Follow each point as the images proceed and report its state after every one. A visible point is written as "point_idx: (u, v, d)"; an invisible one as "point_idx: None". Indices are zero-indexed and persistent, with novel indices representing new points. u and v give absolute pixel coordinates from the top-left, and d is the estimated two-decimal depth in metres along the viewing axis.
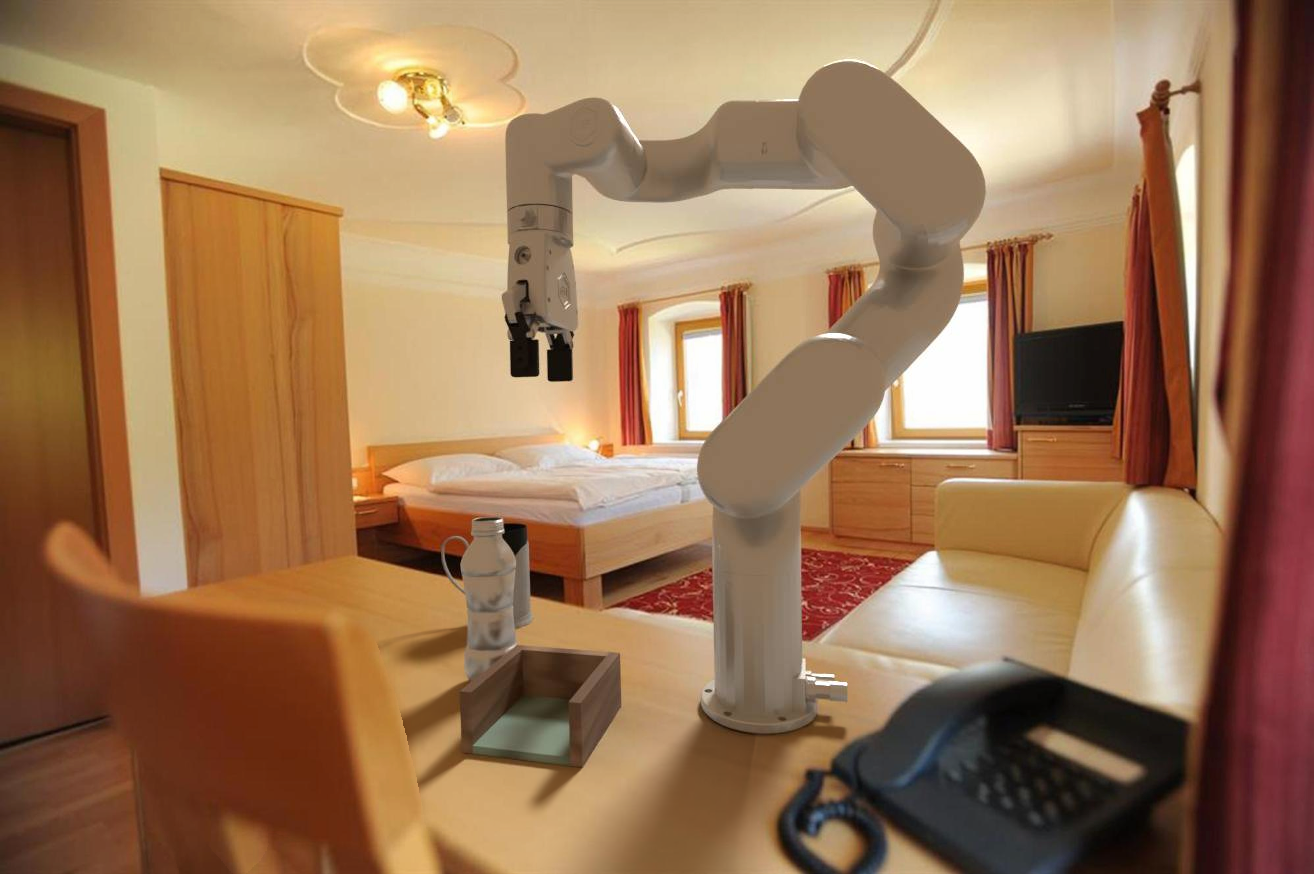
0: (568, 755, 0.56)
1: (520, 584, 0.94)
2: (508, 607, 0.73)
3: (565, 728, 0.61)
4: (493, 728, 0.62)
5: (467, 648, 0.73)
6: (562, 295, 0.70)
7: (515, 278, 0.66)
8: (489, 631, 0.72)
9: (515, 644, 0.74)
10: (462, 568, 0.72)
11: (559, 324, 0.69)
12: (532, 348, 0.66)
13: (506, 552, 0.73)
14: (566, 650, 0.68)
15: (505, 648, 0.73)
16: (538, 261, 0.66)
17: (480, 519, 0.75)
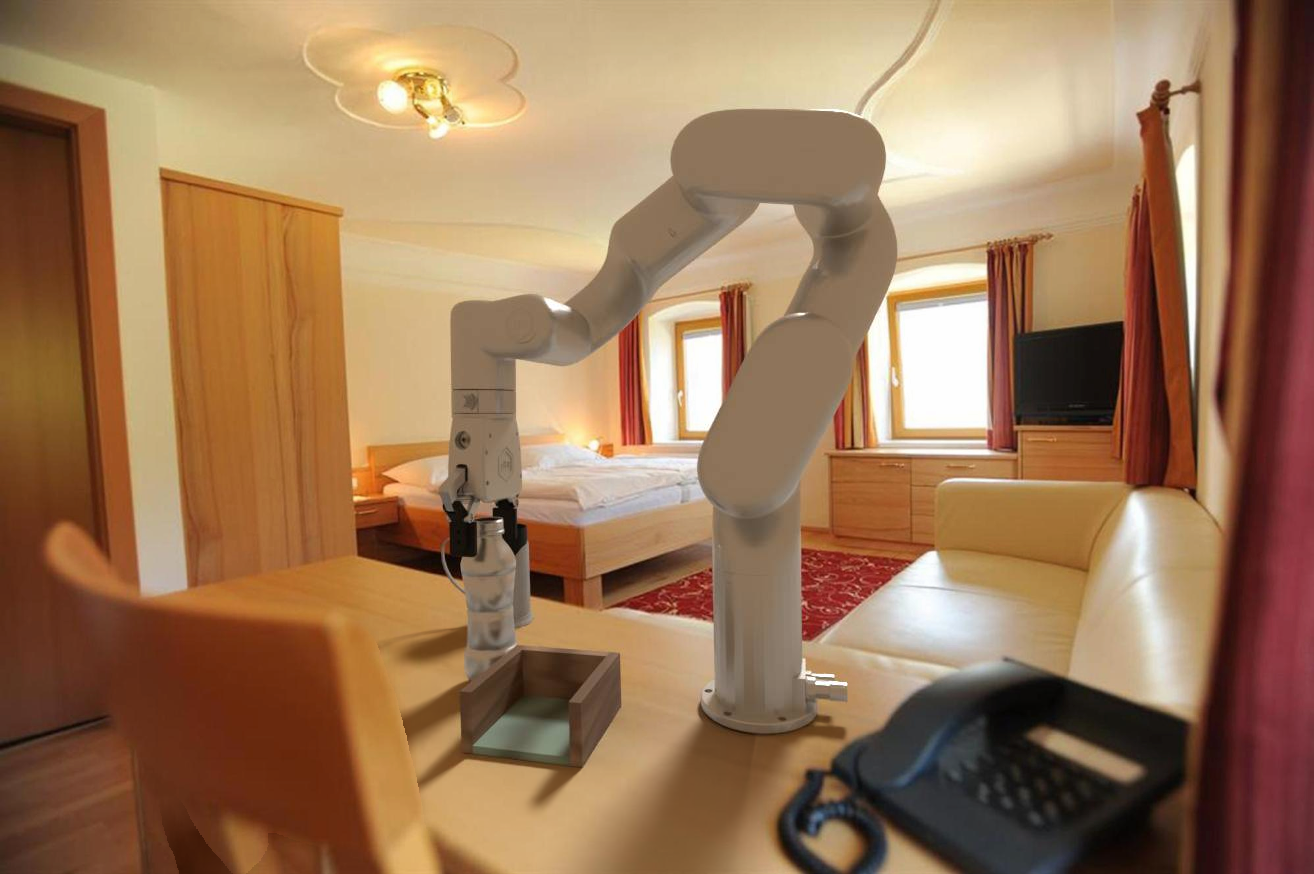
0: (568, 755, 0.56)
1: (520, 584, 0.94)
2: (508, 607, 0.73)
3: (565, 728, 0.61)
4: (493, 728, 0.62)
5: (467, 648, 0.73)
6: (503, 469, 0.73)
7: (455, 462, 0.69)
8: (489, 631, 0.72)
9: (515, 644, 0.74)
10: (462, 568, 0.72)
11: (499, 499, 0.72)
12: (470, 530, 0.69)
13: (506, 552, 0.73)
14: (566, 650, 0.68)
15: (505, 648, 0.73)
16: (477, 447, 0.68)
17: (480, 519, 0.75)
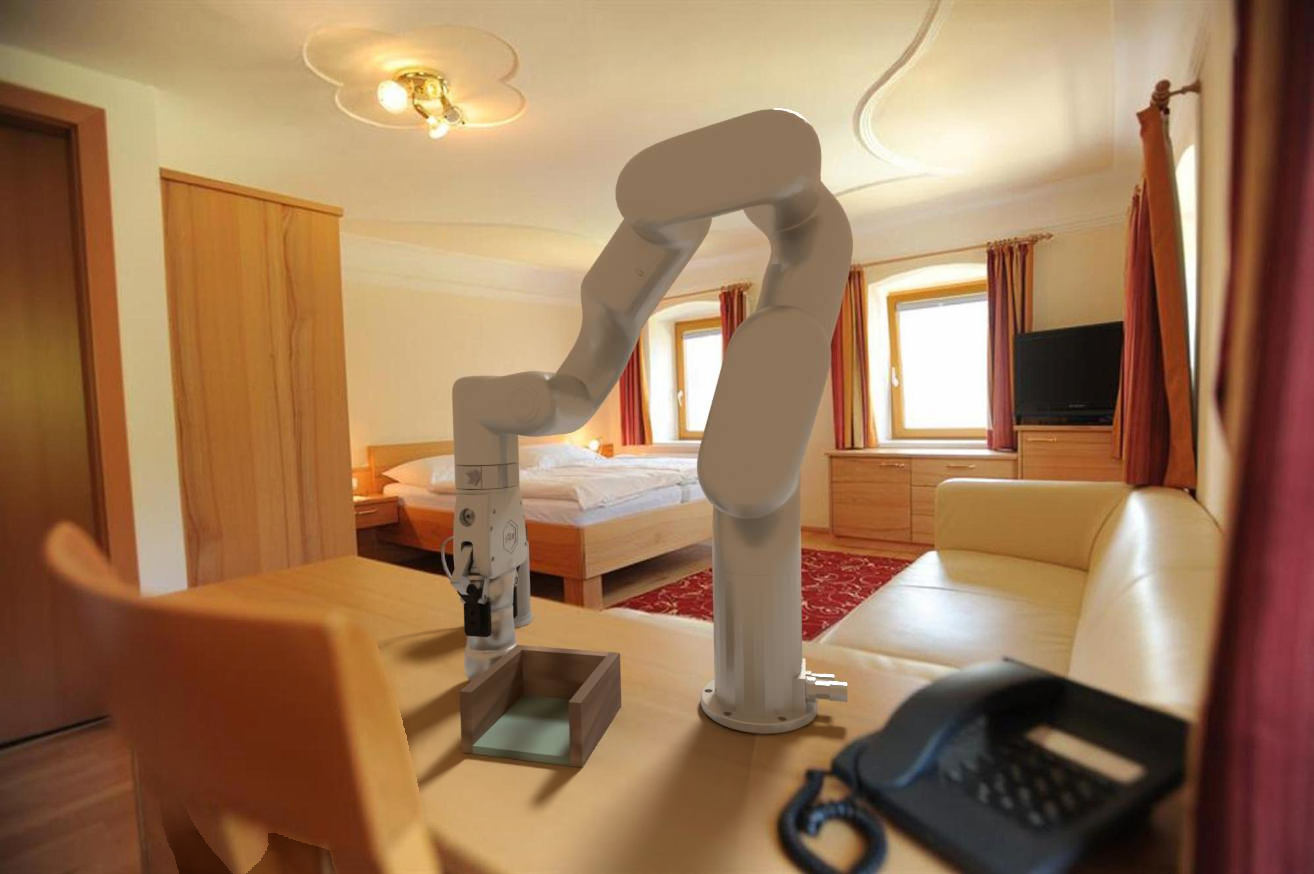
0: (568, 755, 0.56)
1: (520, 584, 0.94)
2: (508, 607, 0.73)
3: (565, 728, 0.61)
4: (493, 728, 0.62)
5: (467, 648, 0.73)
6: (508, 542, 0.73)
7: (460, 539, 0.69)
8: None
9: (515, 644, 0.74)
10: None
11: None
12: (484, 611, 0.70)
13: None
14: (566, 650, 0.68)
15: (504, 648, 0.73)
16: (482, 524, 0.69)
17: None
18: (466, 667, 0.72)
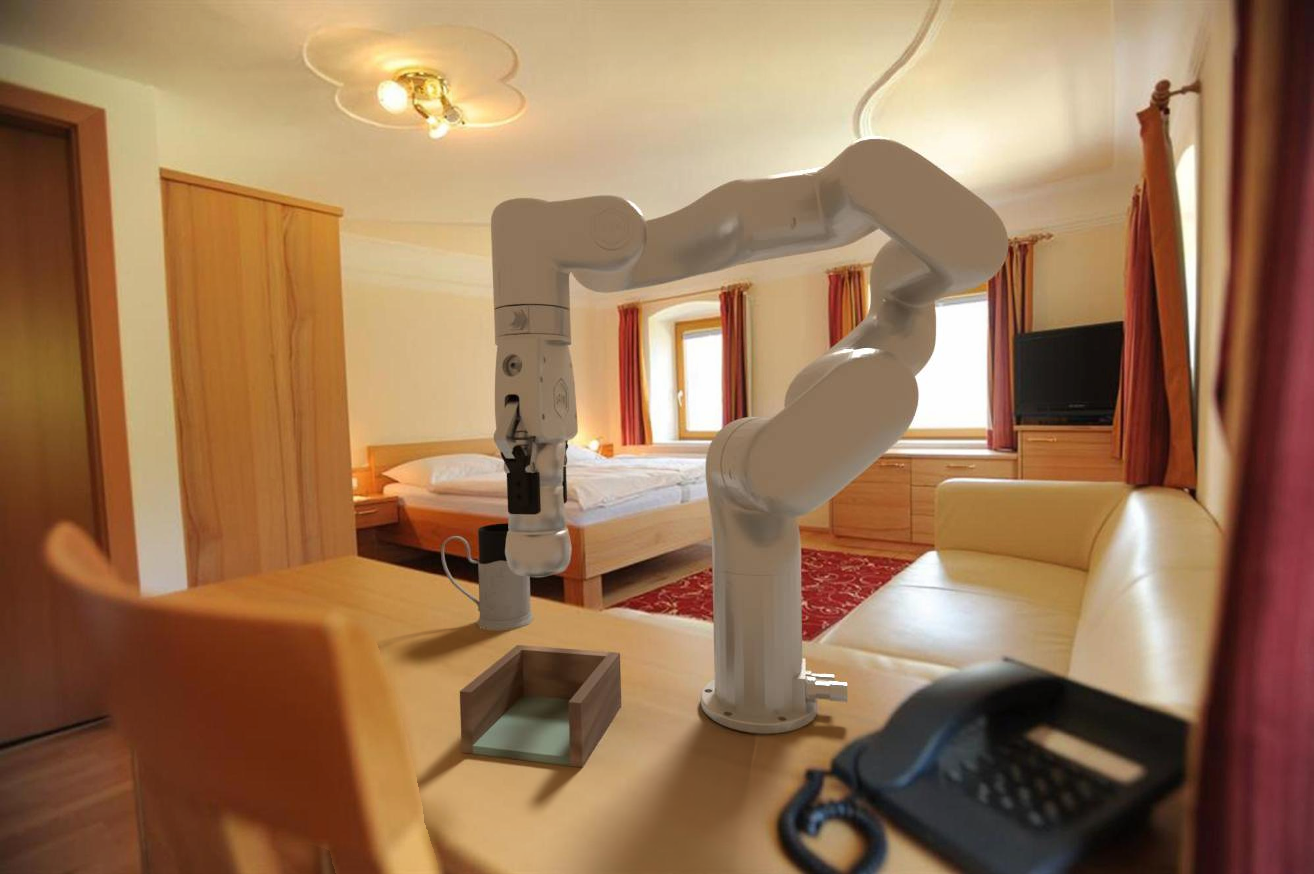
0: (568, 755, 0.56)
1: (520, 584, 0.94)
2: (558, 484, 0.61)
3: (565, 728, 0.61)
4: (493, 728, 0.62)
5: (509, 533, 0.61)
6: (559, 404, 0.60)
7: (503, 392, 0.57)
8: None
9: (566, 530, 0.62)
10: None
11: (556, 439, 0.60)
12: (532, 482, 0.58)
13: None
14: (566, 650, 0.68)
15: (555, 531, 0.60)
16: (530, 373, 0.56)
17: None
18: (509, 554, 0.60)
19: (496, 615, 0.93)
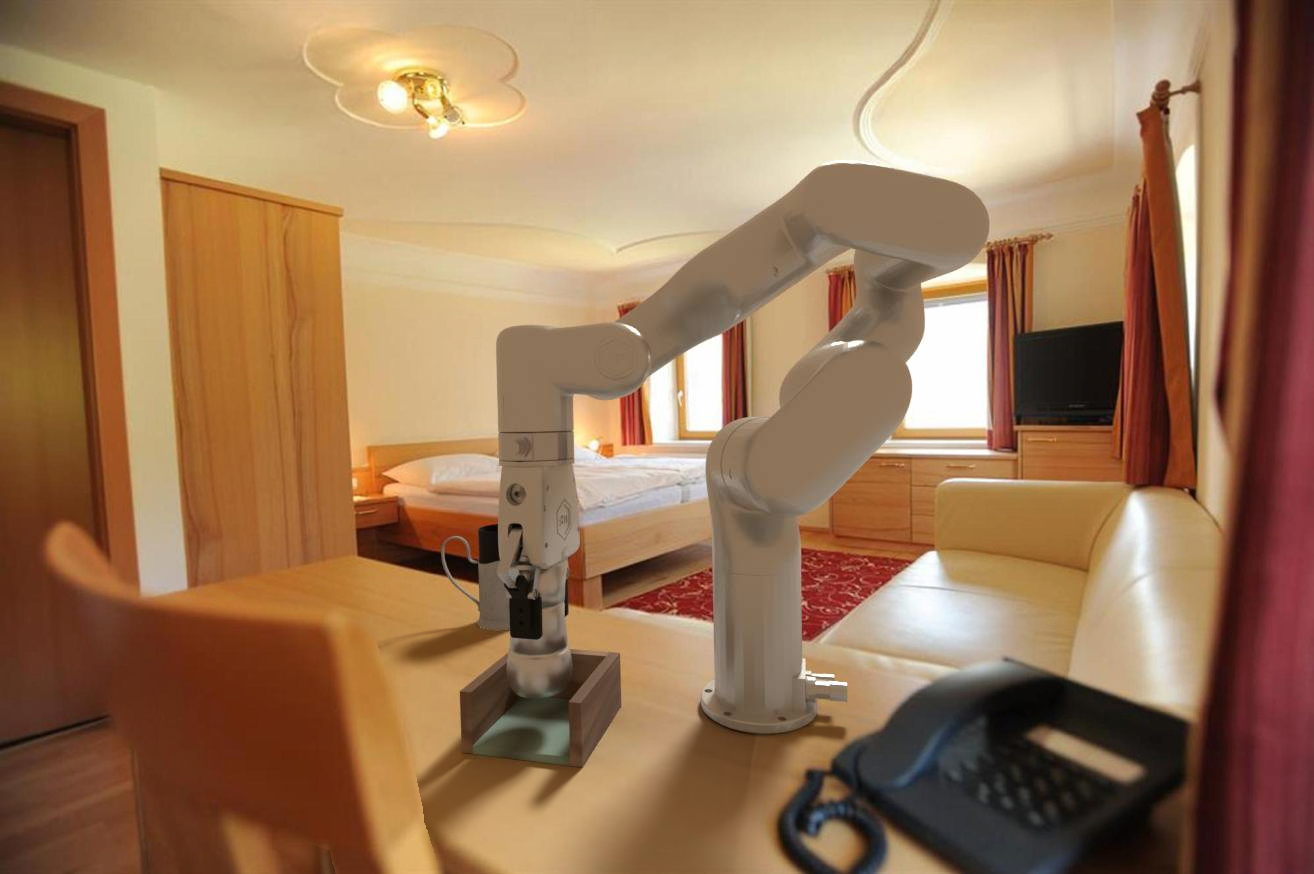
0: (568, 755, 0.56)
1: None
2: (560, 604, 0.61)
3: (565, 728, 0.61)
4: (493, 728, 0.62)
5: (511, 652, 0.61)
6: (562, 526, 0.61)
7: (507, 520, 0.57)
8: None
9: (567, 648, 0.62)
10: None
11: None
12: (534, 608, 0.58)
13: None
14: None
15: (556, 652, 0.60)
16: (534, 503, 0.57)
17: None
18: (510, 675, 0.60)
19: (496, 615, 0.93)
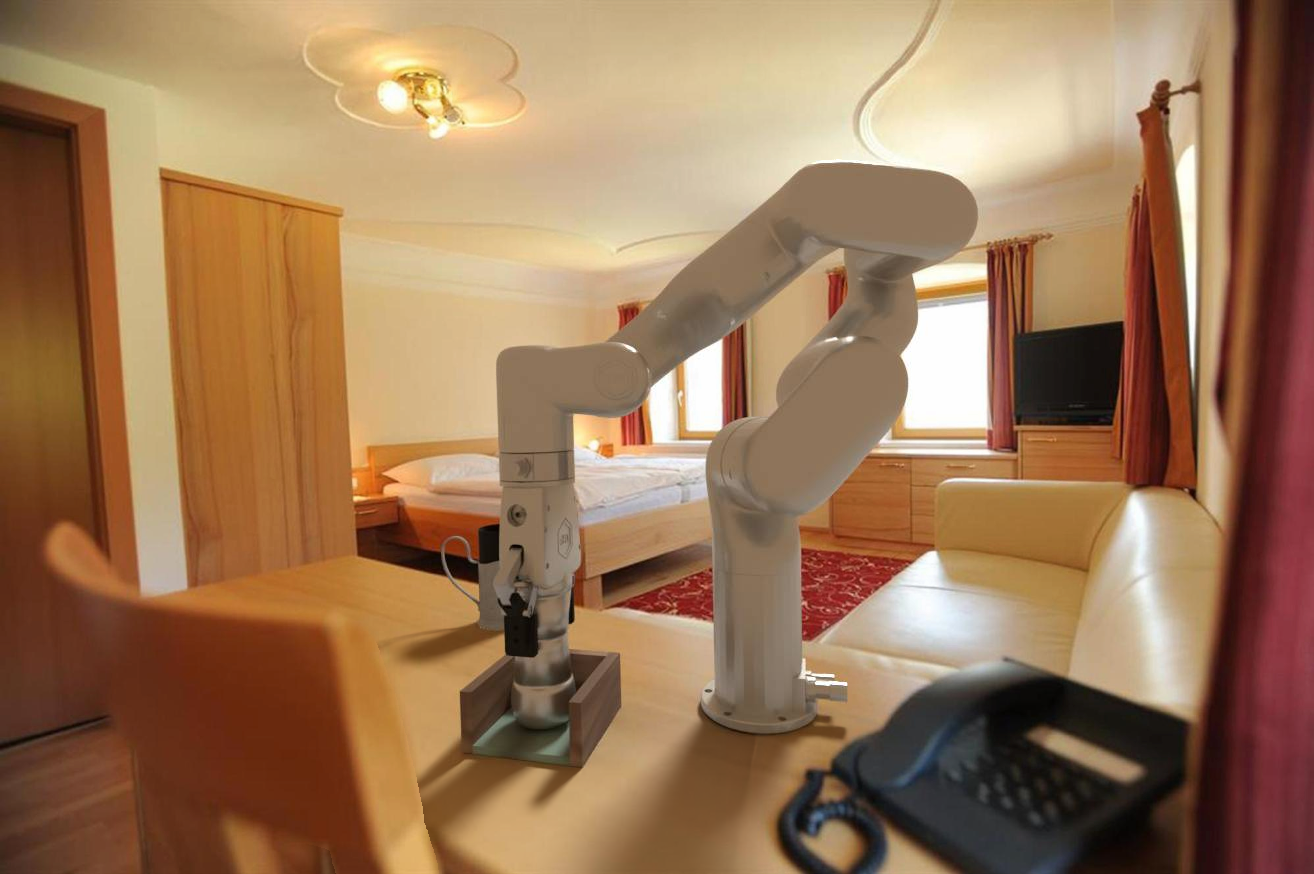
0: (568, 755, 0.56)
1: None
2: (564, 634, 0.62)
3: (565, 728, 0.61)
4: (493, 728, 0.62)
5: (515, 683, 0.61)
6: (563, 545, 0.61)
7: (508, 541, 0.57)
8: (542, 663, 0.60)
9: (571, 678, 0.62)
10: None
11: (559, 581, 0.60)
12: (530, 625, 0.57)
13: None
14: None
15: (560, 683, 0.61)
16: (535, 524, 0.57)
17: None
18: (514, 706, 0.60)
19: (496, 615, 0.93)
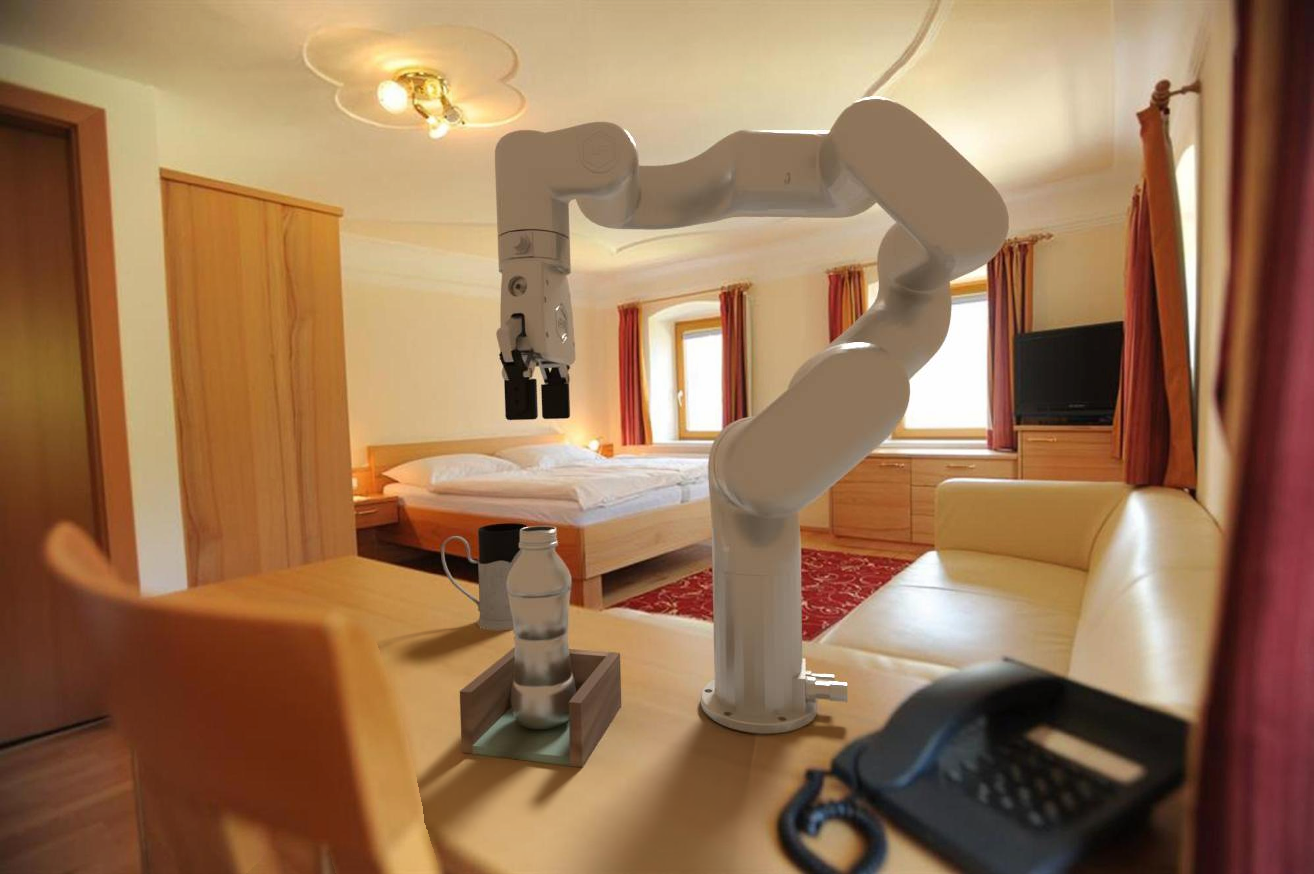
0: (568, 755, 0.56)
1: None
2: (563, 634, 0.62)
3: (565, 728, 0.61)
4: (493, 728, 0.62)
5: (515, 683, 0.61)
6: (560, 328, 0.64)
7: (509, 311, 0.60)
8: (542, 663, 0.60)
9: (571, 677, 0.62)
10: (509, 588, 0.60)
11: (557, 360, 0.63)
12: (529, 388, 0.60)
13: (561, 568, 0.61)
14: None
15: (560, 683, 0.61)
16: (535, 293, 0.60)
17: (528, 529, 0.63)
18: (514, 706, 0.60)
19: (496, 615, 0.93)
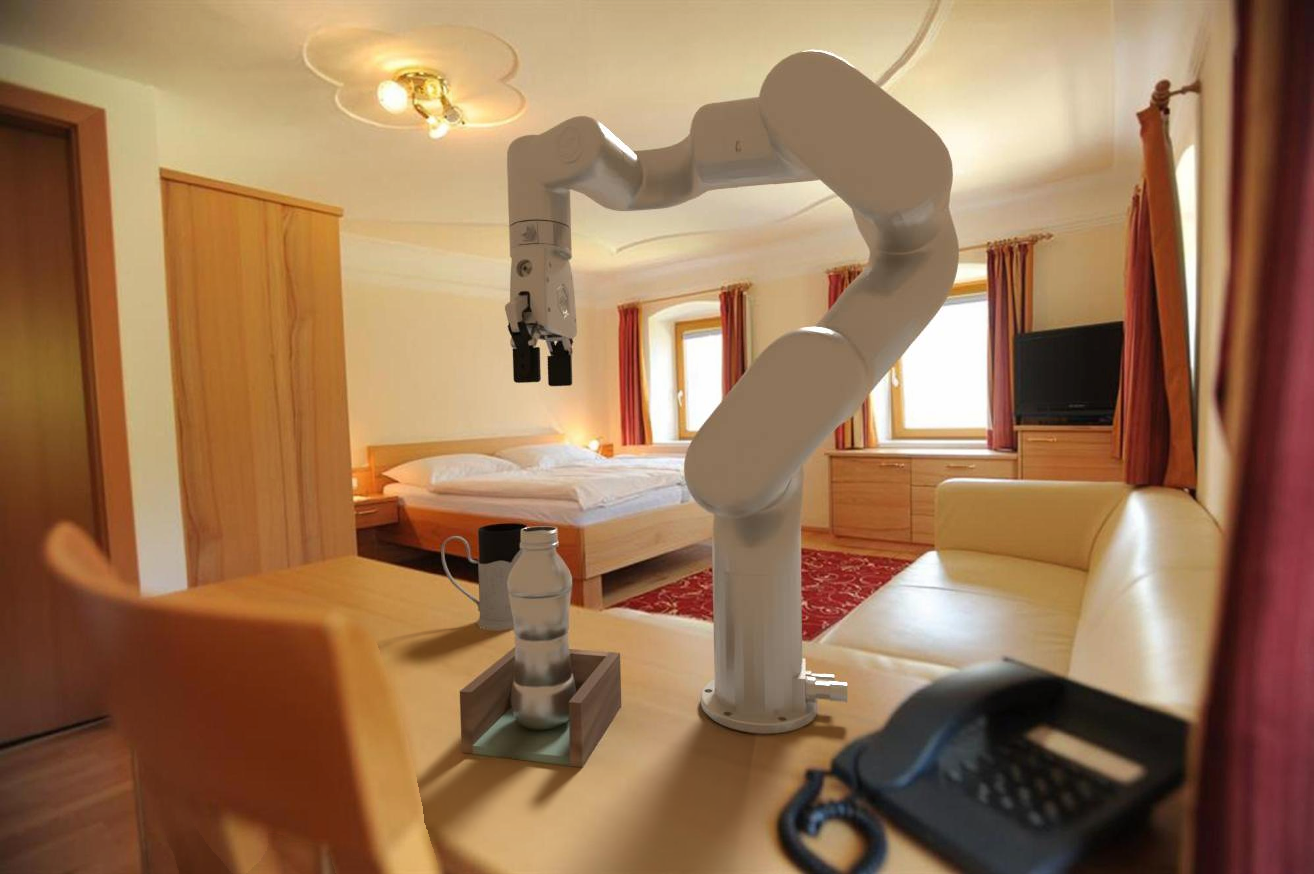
0: (568, 755, 0.56)
1: None
2: (564, 634, 0.62)
3: (565, 728, 0.61)
4: (493, 728, 0.62)
5: (515, 683, 0.61)
6: (561, 305, 0.74)
7: (517, 290, 0.71)
8: (542, 664, 0.60)
9: (571, 678, 0.62)
10: (510, 588, 0.60)
11: (559, 332, 0.74)
12: (534, 355, 0.70)
13: (562, 569, 0.61)
14: None
15: (560, 683, 0.61)
16: (539, 273, 0.70)
17: (529, 529, 0.63)
18: (514, 706, 0.60)
19: (496, 615, 0.93)
